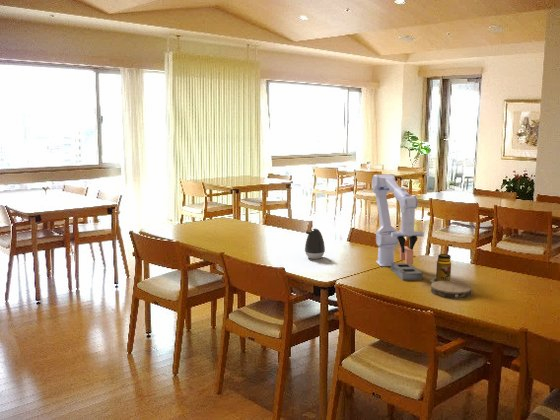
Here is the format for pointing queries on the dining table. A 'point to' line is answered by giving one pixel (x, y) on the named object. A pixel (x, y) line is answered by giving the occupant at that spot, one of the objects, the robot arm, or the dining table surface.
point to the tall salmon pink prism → (407, 255)
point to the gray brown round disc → (451, 289)
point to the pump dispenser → (314, 244)
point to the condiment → (443, 268)
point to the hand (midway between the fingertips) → (406, 252)
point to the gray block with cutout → (406, 271)
